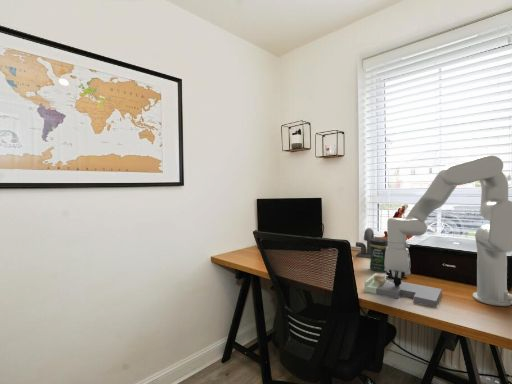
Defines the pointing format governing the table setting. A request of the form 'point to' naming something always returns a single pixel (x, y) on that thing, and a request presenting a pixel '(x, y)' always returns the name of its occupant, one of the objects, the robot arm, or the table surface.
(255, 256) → the table surface
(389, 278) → the dark grey motor
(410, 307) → the table surface
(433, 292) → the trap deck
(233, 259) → the table surface
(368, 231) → the faucet
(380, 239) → the coffee jar
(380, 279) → the maple block
